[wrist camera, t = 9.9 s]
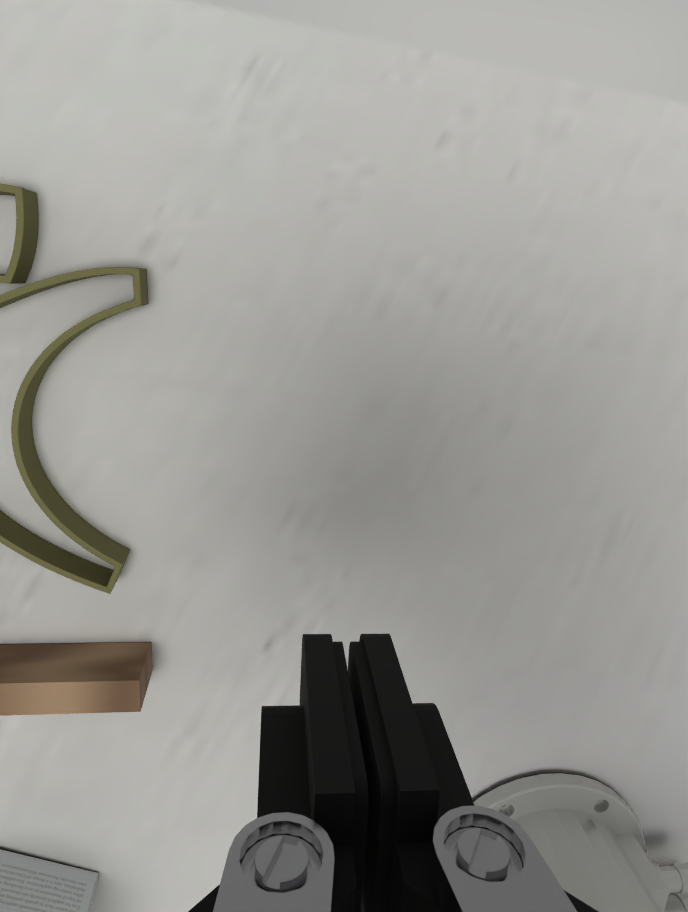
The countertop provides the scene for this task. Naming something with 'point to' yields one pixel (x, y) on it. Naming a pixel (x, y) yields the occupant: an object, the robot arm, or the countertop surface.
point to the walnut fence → (74, 677)
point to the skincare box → (43, 885)
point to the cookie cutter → (22, 435)
